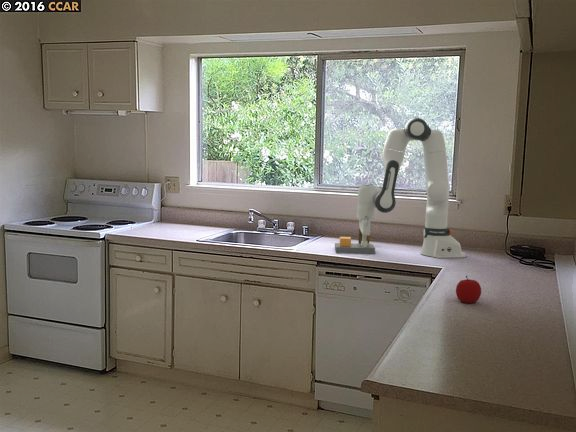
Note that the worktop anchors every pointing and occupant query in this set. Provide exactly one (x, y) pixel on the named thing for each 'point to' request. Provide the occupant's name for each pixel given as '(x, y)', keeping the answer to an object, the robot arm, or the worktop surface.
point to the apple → (468, 291)
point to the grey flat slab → (355, 249)
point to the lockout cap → (345, 241)
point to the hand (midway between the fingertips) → (364, 241)
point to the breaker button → (364, 243)
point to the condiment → (361, 237)
